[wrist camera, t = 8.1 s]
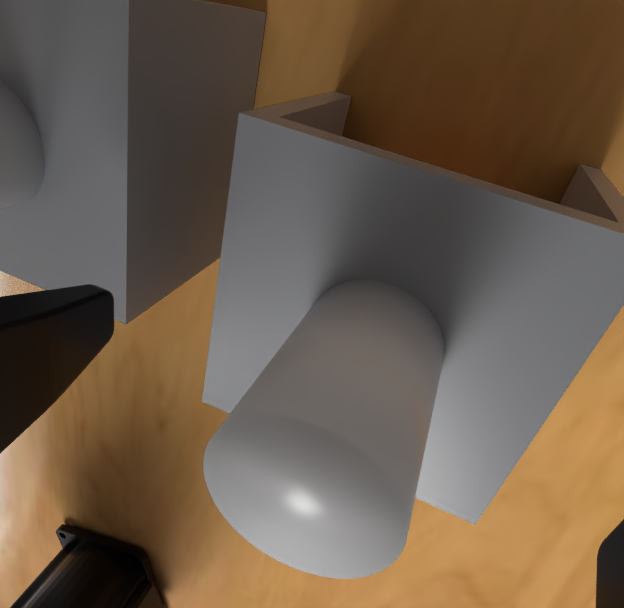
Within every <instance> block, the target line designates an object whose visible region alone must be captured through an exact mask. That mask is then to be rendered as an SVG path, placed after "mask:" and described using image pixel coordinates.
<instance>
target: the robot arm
mask: <svg viewBox="0 0 624 608" xmlns="http://www.w3.org/2000/svg"><path fill="white" fill-rule="evenodd" d="M113 331H114V297H113V295H112V293H111V292H110V291H108V290H106V289H103V288H101V287H98V286H96V285H93V284H86V285H79V286H73V287H66V288H59V289H52V290H45V291H38V292H31V293H24V294H17V295H10V296H4V297H0V453H1V452H2V451H3V450H4V449H6V448H7V447H8V446H9V445H10V444H11V443H12V442H13V441H14V440H15V439H16V438H17V437H18V436H19V435H21V434H22V433H23V432H24V431H25V430H26V429H27V428H28V427H29V426H30V425H31V424H32V423H33V422H35V421H36V420H37V419H38V418H39V417H40V416H41V415H42V414H43V413H44V412H45V411H46V410H47V409H48V408H49V407H50V406H51V405H52V404H53V403H54V402H55V401H56V400H57V399H58V398H59V397H60V396H61V395H62V394H63V393H64V392H65V391H66V389H67V388H68V387H69V386H70V385H71V384H72V383H73V381H74V380H75V379H76V378H77V377H78V376H79V375H80V374H81V372H82V371H83V370H84V369H85V368H86V367H87V366H88V364H89V363H90V362H91V361H92V360H93V359H94V358H95V356H96V355H97V354H98V353H99V352H100V351H101V350H102V348H103V347H104V346H105V345H106V344H107V343H108V342H109V340H110V339H111V337H112V335H113ZM56 534H57V536H58V538H59V540H60V543H61V545H62V547H63V549H62V550H61V551H60V552H59V553H58V555H57V556H56V557H55V558H54V559H53V560H52V561H51V562H50V563H49V565H48V566H47V567H46V568H45V569H44V570H43V571H42V572H41V574H40V575H39V576H38V577H37V578H36V579H35V580H34V581H33V582H32V584H31V585H30V586H29V587H28V588H27V589H26V590H25V591H24V592H23V594H22V595H21V596H20V597H19V598H18V599H17V600H16V601H15V603H14V604H13V605H12V606H11V607H10V608H164V607H163V604H162V601H161V598H160V595H159V592H158V589H157V586H156V583H155V580H154V577H153V574H152V571H151V568H150V565H149V562H148V559H147V556H146V554H145V553H144V552H143V551H141V550H140V549H137V548H134V547H131V546H128V545H125V544H122V543H119V542H116V541H113V540H110V539H107V538H104V537H101V536H98V535H95V534H92V533H89V532H86V531H83V530H80V529H77V528H74V527H71V526H68V525H64V524H62V525H61V526H60V527H59V528H58V529H57V530H56ZM596 608H624V519H623V521H622V522H621V523H620V524H619V525H618V526H617V527H616V528H615V529H614V530H613V531H612V532H611V533H610V534H609V535H608V536H607V538H606V539H605V540H604V541H603V542H602V544H601V546H600V548H599V551H598V555H597V581H596Z"/></svg>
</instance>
